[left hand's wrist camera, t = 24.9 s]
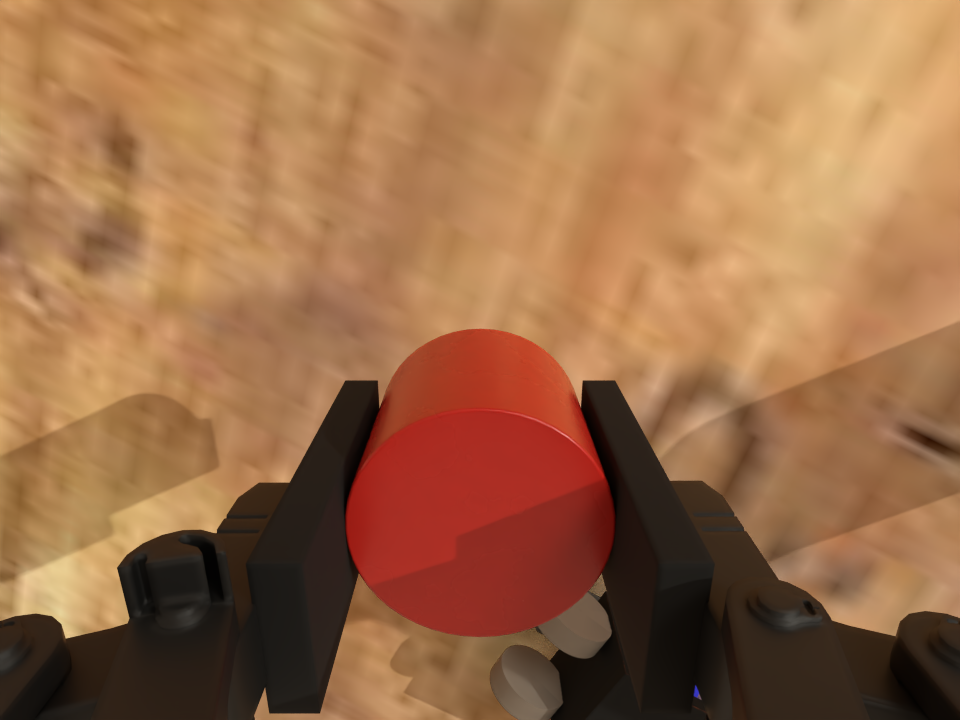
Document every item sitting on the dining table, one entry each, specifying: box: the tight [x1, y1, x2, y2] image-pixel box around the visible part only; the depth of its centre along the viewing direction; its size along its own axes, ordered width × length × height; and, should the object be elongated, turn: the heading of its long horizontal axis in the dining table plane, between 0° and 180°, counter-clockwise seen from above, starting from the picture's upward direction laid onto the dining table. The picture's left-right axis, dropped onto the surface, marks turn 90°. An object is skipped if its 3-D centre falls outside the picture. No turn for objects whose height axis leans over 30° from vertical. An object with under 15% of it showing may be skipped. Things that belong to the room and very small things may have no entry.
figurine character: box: [490, 591, 706, 720], centre depth 31 cm, size 7×8×15 cm
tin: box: [345, 329, 616, 637], centre depth 13 cm, size 5×5×4 cm
